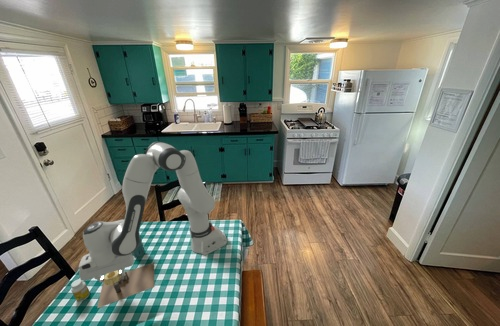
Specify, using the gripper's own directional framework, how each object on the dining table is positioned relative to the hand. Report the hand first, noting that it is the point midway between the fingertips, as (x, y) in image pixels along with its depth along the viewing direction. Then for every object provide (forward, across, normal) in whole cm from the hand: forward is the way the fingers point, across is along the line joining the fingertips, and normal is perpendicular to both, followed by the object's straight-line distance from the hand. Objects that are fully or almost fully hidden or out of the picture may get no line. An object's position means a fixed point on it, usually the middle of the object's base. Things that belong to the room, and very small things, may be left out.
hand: (112, 277), depth 95 cm
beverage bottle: (+12, -8, -22) cm, 26 cm away
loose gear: (+1, 0, 0) cm, 1 cm away
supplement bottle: (+12, +16, -6) cm, 21 cm away
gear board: (+11, -4, -3) cm, 13 cm away
